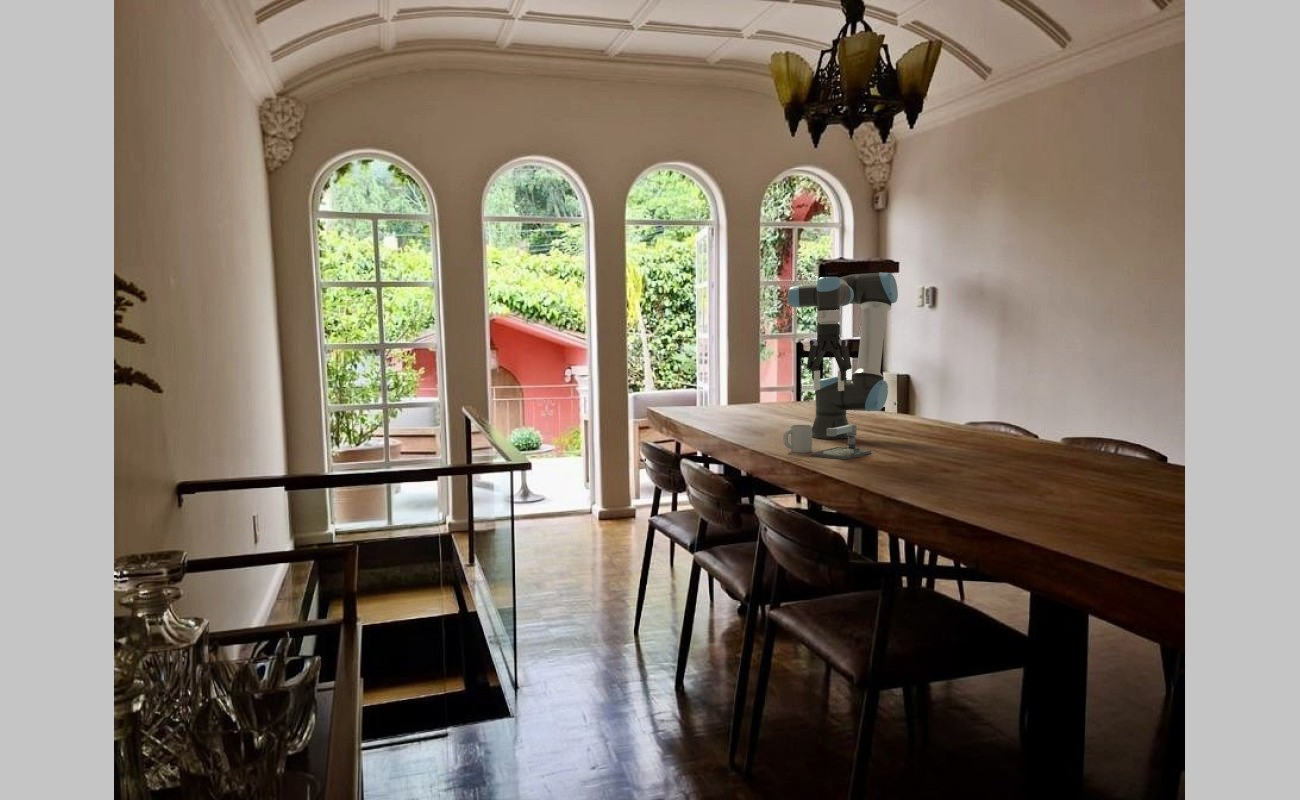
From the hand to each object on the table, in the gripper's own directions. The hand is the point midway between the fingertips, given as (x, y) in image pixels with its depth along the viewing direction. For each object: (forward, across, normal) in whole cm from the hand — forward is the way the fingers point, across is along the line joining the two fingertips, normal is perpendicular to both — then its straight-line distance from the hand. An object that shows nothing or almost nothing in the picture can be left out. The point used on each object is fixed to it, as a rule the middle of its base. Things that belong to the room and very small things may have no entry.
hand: (828, 390), depth 274 cm
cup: (+22, -10, -5) cm, 24 cm away
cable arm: (+15, +6, -2) cm, 17 cm away
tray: (+21, +6, -2) cm, 22 cm away
